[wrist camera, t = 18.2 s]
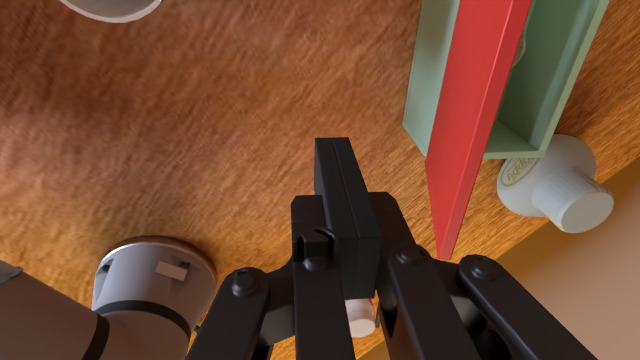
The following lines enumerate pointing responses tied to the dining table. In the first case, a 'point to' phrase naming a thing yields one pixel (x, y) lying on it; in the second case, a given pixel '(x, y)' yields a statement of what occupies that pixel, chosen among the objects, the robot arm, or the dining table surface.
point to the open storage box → (524, 78)
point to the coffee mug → (113, 9)
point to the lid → (469, 107)
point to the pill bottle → (360, 317)
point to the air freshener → (557, 186)
